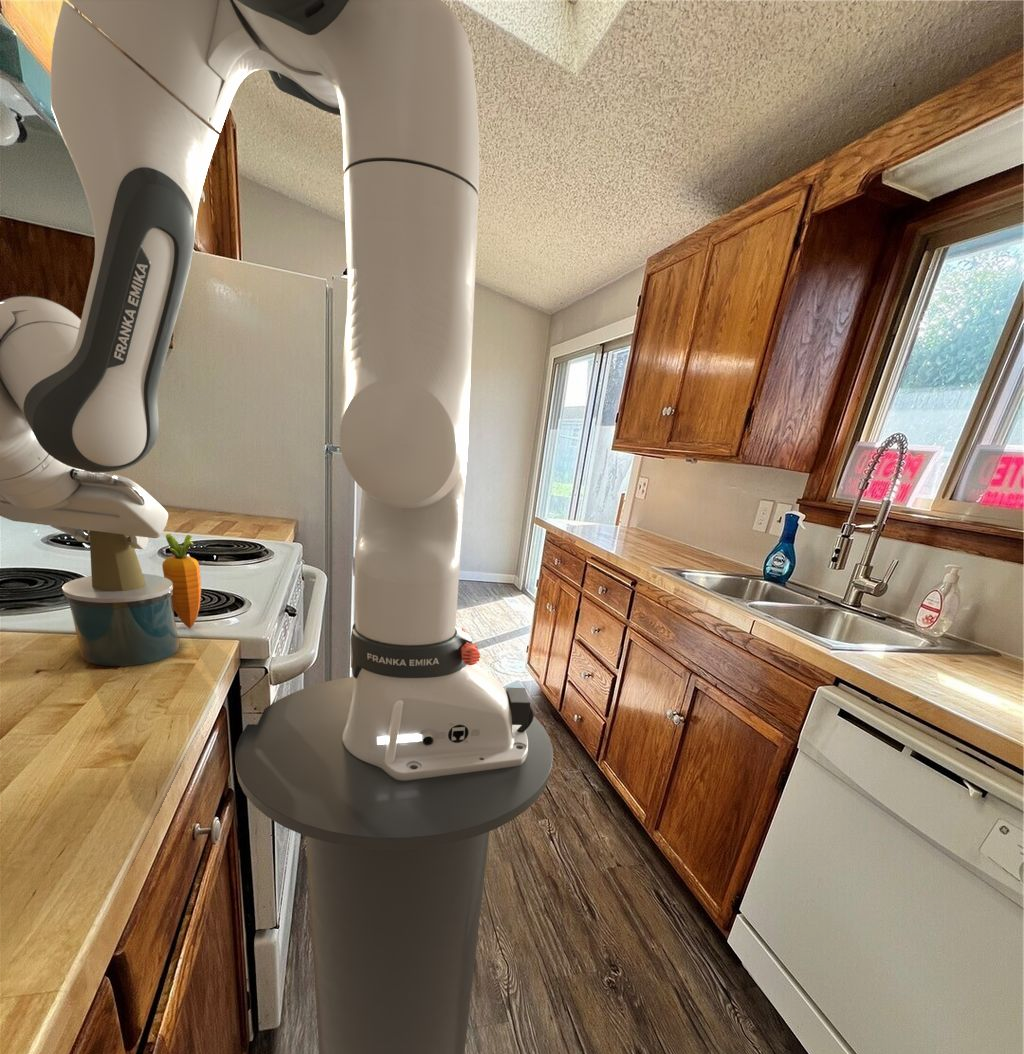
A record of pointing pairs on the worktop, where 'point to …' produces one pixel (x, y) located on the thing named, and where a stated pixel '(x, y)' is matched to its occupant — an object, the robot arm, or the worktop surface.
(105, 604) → the pot
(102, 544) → the tan pepper shaker
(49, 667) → the worktop surface
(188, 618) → the carrot
